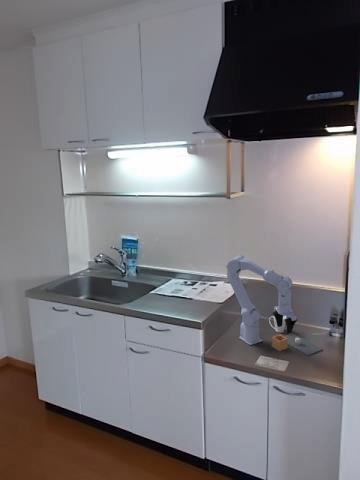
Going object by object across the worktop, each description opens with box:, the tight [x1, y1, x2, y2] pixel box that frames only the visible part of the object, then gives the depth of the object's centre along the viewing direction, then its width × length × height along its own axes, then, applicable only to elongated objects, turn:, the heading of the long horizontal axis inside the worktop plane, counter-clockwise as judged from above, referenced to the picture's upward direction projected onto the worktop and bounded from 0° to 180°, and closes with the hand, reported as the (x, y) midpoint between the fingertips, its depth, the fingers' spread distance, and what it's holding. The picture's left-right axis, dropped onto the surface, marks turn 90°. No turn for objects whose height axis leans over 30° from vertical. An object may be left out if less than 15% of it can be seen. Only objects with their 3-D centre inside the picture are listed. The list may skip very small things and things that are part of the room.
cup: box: [268, 315, 287, 333], centre depth 202 cm, size 7×10×8 cm
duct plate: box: [283, 332, 324, 357], centre depth 186 cm, size 20×10×3 cm, turn 28°
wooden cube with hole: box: [271, 334, 289, 352], centre depth 184 cm, size 5×5×5 cm
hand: (284, 329), depth 182 cm, fingers open, 7 cm apart
